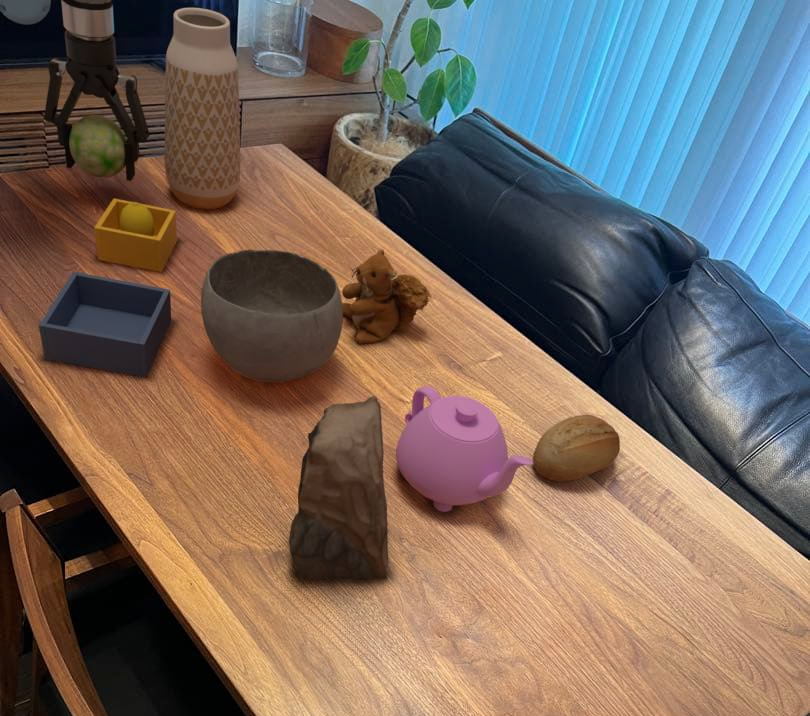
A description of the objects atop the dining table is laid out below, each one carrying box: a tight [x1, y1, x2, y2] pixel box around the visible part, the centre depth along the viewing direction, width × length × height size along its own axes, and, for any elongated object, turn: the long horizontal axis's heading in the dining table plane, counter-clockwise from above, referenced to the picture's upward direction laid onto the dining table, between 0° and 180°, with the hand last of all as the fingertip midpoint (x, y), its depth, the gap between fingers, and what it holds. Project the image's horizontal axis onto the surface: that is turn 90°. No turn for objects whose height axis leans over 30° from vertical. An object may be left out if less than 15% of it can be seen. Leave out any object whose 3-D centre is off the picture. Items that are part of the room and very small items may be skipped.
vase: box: [164, 7, 241, 210], centre depth 144 cm, size 14×14×31 cm
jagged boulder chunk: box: [288, 395, 389, 581], centre depth 96 cm, size 13×13×20 cm
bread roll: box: [532, 414, 621, 482], centre depth 119 cm, size 10×15×8 cm, turn 125°
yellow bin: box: [93, 197, 178, 273], centre depth 137 cm, size 11×11×6 cm
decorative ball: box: [69, 114, 127, 179], centre depth 141 cm, size 10×10×10 cm
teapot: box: [395, 385, 534, 513], centre depth 109 cm, size 22×16×14 cm
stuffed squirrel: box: [341, 248, 433, 344], centre depth 132 cm, size 10×14×13 cm
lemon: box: [120, 201, 154, 237], centre depth 135 cm, size 6×6×8 cm
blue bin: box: [38, 271, 172, 378], centre depth 120 cm, size 15×15×6 cm
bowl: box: [200, 249, 344, 383], centre depth 119 cm, size 20×20×15 cm
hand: (101, 171), depth 144 cm, fingers closed on decorative ball, 10 cm apart
